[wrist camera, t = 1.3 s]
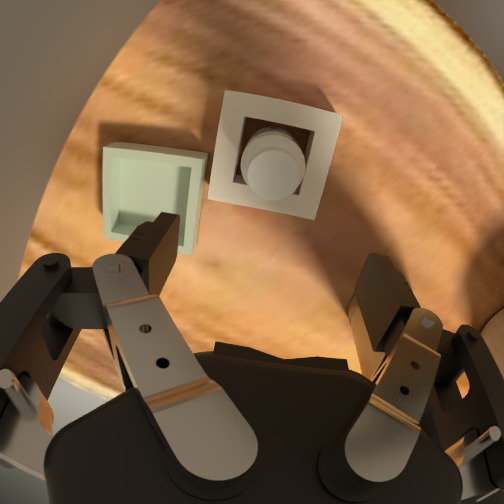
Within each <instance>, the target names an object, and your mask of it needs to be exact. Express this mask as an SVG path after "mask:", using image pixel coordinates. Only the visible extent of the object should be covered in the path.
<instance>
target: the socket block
mask: <svg viewBox="0 0 504 504" xmlns="http://www.w3.org/2000/svg"><path fill="white" fill-rule="evenodd" d="M246 117H251V118H256V119H261V120H266V121H271V122H276V123H281V124H286V125H290V126H295V127H299V128H303V129H307V130H311V131H310V135H309V139H308V143H307V147H306V151H305V155H304V158H305V174H304V177H303V179H302V181H301V183H300V184H299V185H298V187H297V189H296V190H295V191H294V193H293V194H291V195H290V196H289V197H287V198H285V199H282V200H277V201H270V200H266V199H263V198H261V197H259V196H258V195H256V194H255V193H254V192H253V191H252V189H251V188H250V187H249V186H248V185H247V183H246V182H245V180H244V178H243V176H242V175H238V174H236V171H237V165H238V160H239V154H240V149H241V143H242V138H243V133H244V127H245V122H246ZM342 119H343V115H340V114H338V113H334V112H331V111H327V110H323V109H320V108H316V107H312V106H308V105H304V104H300V103H295V102H291V101H286V100H282V99H277V98H272V97H267V96H262V95H256V94H251V93H245V92H239V91H232V90H225V93H224V98H223V104H222V109H221V115H220V121H219V127H218V133H217V139H216V145H215V151H214V158H213V164H212V171H211V178H210V185H209V192H208V199H210V200H215V201H221V202H226V203H232V204H237V205H242V206H247V207H252V208H257V209H263V210H268V211H272V212H277V213H282V214H287V215H292V216H297V217H301V218H306V219H311V220H315V217H316V213H317V210H318V207H319V203H320V200H321V196H322V193H323V189H324V186H325V182H326V179H327V175H328V172H329V168H330V164H331V161H332V157H333V153H334V149H335V146H336V142H337V138H338V134H339V130H340V126H341V123H342Z"/></svg>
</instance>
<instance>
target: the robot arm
mask: <svg viewBox="0 0 504 504" xmlns="http://www.w3.org/2000/svg"><path fill="white" fill-rule="evenodd" d="M179 226H180V215H178V214H172V213H167V212H161V213H160V214H159V215H158V217H157V218H156V219H155V220H154V222H150V221H146V222H144V223H142V224H140V225H138V226H137V227H136V229H135V230H134V231H133V233H131V235H130V236H129V237H128V239H127V240H126V241H125V242H124V243H123V244H122V246H121V247H120V248H119V249H118V251H117V252H116V253H115V254H108V255H104V256H101V257H99V258H98V259H97V260H95V262H94V263H93V266H92V267H71V263H70V259H69V258H68V257H67V256H66V255H64V254H61V253H51V254H47V255H44V256H42V257H40V258H38V259H37V260H36V261H35V262H34V263H33V264H32V266H31V267H30V268H29V269H28V270H27V271H26V272H25V273H24V275H23V276H22V277H21V278H20V279H19V280H18V282H17V283H16V284H15V285H14V286H13V288H12V289H11V290H10V291H9V292H8V294H7V295H6V296H5V298H4V299H3V300H2V301H1V302H0V465H1V466H3V467H6V468H16V467H18V468H20V469H22V470H24V471H26V472H28V473H30V474H32V475H34V476H36V477H38V478H40V479H42V480H45V481H46V485H47V490H48V497H49V504H504V379H503V377H502V374H501V372H500V370H499V368H498V366H497V364H496V362H495V360H494V358H493V356H492V354H491V352H490V350H489V348H488V346H487V344H486V343H485V341H484V339H483V337H482V336H481V334H480V333H479V332H478V331H477V330H476V329H474V328H473V327H471V326H469V325H461V326H460V327H459V328H458V330H457V331H456V333H452V332H450V331H447V330H444V329H443V324H442V322H441V320H440V319H439V317H438V316H437V315H436V314H434V313H433V312H431V311H430V310H428V309H425V308H421V307H420V305H419V303H418V301H417V299H416V297H415V296H414V294H413V292H411V289H410V287H409V285H408V283H407V282H406V280H405V278H404V277H403V276H402V275H401V274H400V273H399V272H398V271H397V270H396V269H395V267H394V266H393V264H392V262H391V261H390V259H389V257H388V256H385V255H380V254H376V253H370V254H369V256H368V258H367V260H366V262H365V265H364V267H363V269H362V272H361V274H360V276H359V279H358V281H357V284H356V288H355V296H354V297H353V298H352V300H351V302H350V304H349V307H348V317H349V321H350V325H351V329H352V333H353V337H354V341H355V345H356V349H357V354H358V358H359V362H360V366H361V371H362V375H361V374H359V373H357V372H355V371H352V370H349V368H348V364H347V359H336V358H326V357H307V358H296V359H281V358H278V357H275V356H272V355H270V354H267V353H264V352H261V351H258V350H255V349H253V348H250V347H244V346H238V345H233V344H227V343H221V342H215V347H214V351H206V352H198V353H194V354H193V353H192V351H191V350H190V348H189V346H188V345H187V343H186V342H185V340H184V338H183V337H182V335H181V333H180V332H179V330H178V328H177V327H176V325H175V323H174V322H173V320H172V318H171V317H170V315H169V313H168V311H167V310H166V308H165V306H164V304H163V303H162V301H161V299H160V297H159V295H160V293H161V291H162V288H163V286H164V284H165V282H166V280H167V278H168V276H169V274H170V272H171V270H172V268H173V265H174V263H175V261H176V257H177V251H178V239H179ZM81 329H103V333H104V336H105V339H106V342H107V345H108V348H109V351H110V354H111V356H112V359H113V362H114V365H115V367H116V370H117V373H118V376H119V379H120V383H121V385H122V388H123V391H124V392H123V393H122V394H120V395H118V396H116V397H115V398H113V399H111V400H110V401H108V402H106V403H105V404H103V405H101V406H99V407H98V408H96V409H94V410H93V411H91V412H89V413H87V414H85V415H84V416H82V417H80V418H78V419H77V420H75V421H73V422H71V423H69V424H68V425H66V426H64V427H63V428H62V429H61V430H59V431H58V432H57V433H56V434H55V435H54V437H53V434H52V426H53V420H54V415H53V411H52V408H51V406H50V405H49V403H48V402H47V400H48V398H49V396H50V393H51V391H52V389H53V386H54V384H55V382H56V380H57V378H58V376H59V374H60V371H61V369H62V367H63V365H64V363H65V361H66V359H67V357H68V355H69V353H70V351H71V349H72V347H73V345H74V343H75V341H76V339H77V337H78V335H79V333H80V331H81ZM464 371H465V373H466V375H467V378H468V380H469V384H470V388H469V392H468V394H467V395H466V396H465V397H464V398H463V399H462V397H461V394H460V391H459V388H458V386H457V383H456V381H457V379H458V378H459V377H460V376H461V375H462V374H463V373H464Z"/></svg>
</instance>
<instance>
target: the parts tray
mask: <svg viewBox="0 0 504 504" xmlns="http://www.w3.org/2000/svg"><path fill="white" fill-rule="evenodd" d="M208 155H209V153H205V152H199V151H192V150H186V149H178V148H171V147H163V146H155V145H146V144H137V143H127V142H117V141H116V142H113V143H111V144H109V145H107V146H104V147H103V224H104V238H106V239H111V240H116V241H121V242H125V241H126V240H127V239H128V237H129V236H130V235H131V233H133V231H134V230H135V229H136V227H137V226H138V225H140V224H142V223H144V222H146V221H150V222H154V220H155V219H156V218H157V217H158V215H159V214H160V213H161V212H167V213H172V214H178V215H180V226H179V239H178V251H177V253H180V254H185V255H190V256H192V254H193V251H194V249H195V247H196V245H197V240H198V231H199V223H200V214H201V206H202V199H203V191H204V183H205V176H206V169H207V162H208Z"/></svg>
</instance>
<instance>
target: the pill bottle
mask: <svg viewBox="0 0 504 504" xmlns="http://www.w3.org/2000/svg"><path fill="white" fill-rule="evenodd" d="M241 172H242V176H243V178H244V180H245V182H246V183H247V185H248V186H249V187H250V188H251V189H252V191H253V192H254V193H255V194H256V195H258V196H259V197H261V198H263V199H266V200H270V201H277V200H282V199H285V198H287V197H289V196H290V195H291V194H293V193H294V191H295V190H296V189H297V187H298V185H299V184H300V183H301V181H302V179H303V177H304V174H305V158H304V155H303V153H302V151H301V149H300V147H299V145H298V143H297V141H296V139H295V138H294V137H293V135H292V134H291V133H290V132H288V131H287V130H285V129H283V128H280V127H275V126H269V127H264V128H262V129H260V130H258V131H257V132H255V133H254V134H253V135H252V136H251V138H250V139H249V141H248V143H247V145H246V148H245V150H244V151H243V154H242V158H241Z"/></svg>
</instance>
